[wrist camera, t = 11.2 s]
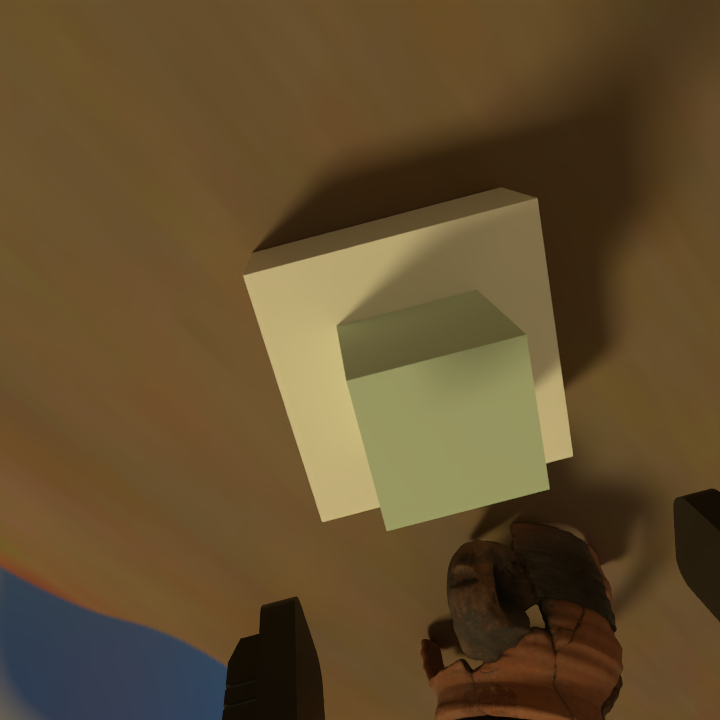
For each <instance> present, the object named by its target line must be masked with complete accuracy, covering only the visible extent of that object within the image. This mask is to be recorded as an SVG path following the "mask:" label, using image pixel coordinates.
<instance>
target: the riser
mask: <svg viewBox="0 0 720 720" xmlns="http://www.w3.org/2000/svg"><path fill="white" fill-rule="evenodd" d="M243 277H244V280H245V283H246V286H247V289H248V292H249V295H250V298H251V301H252V305H253V308H254V311H255V314H256V317H257V320H258V323H259V326H260V330H261V333H262V336H263V339H264V342H265V345H266V348H267V351H268V355H269V358H270V361H271V364H272V367H273V370H274V373H275V376H276V379H277V383H278V386H279V389H280V392H281V395H282V398H283V401H284V404H285V408H286V411H287V414H288V417H289V420H290V423H291V426H292V429H293V432H294V436H295V439H296V442H297V445H298V448H299V451H300V454H301V457H302V461H303V464H304V467H305V470H306V473H307V476H308V479H309V482H310V486H311V489H312V492H313V495H314V498H315V501H316V504H317V507H318V510H319V514H320V517H321V520H322V522H325V521H329V520H333V519H336V518H340V517H344V516H348V515H352V514H355V513H359V512H363V511H367V510H371V509H374V508H378V507H380V504H379V501H378V497H377V493H376V489H375V486H374V482H373V478H372V475H371V471H370V467H369V463H368V460H367V456H366V452H365V449H364V445H363V441H362V437H361V434H360V430H359V426H358V423H357V419H356V415H355V412H354V408H353V404H352V400H351V397H350V393H349V389H348V386H347V382H346V377H345V371H344V366H343V360H342V355H341V349H340V344H339V339H338V333H337V328H336V326H338V325H342V324H346V323H350V322H354V321H358V320H361V319H365V318H369V317H373V316H377V315H381V314H385V313H389V312H392V311H396V310H400V309H404V308H408V307H412V306H416V305H420V304H424V303H427V302H431V301H435V300H439V299H443V298H447V297H451V296H455V295H459V294H462V293H466V292H470V291H474V290H478V291H479V292H481V293H482V294H483V295H484V296H485V297H486V298H487V299H488V300H489V301H490V302H491V303H493V304H494V305H495V306H496V307H497V308H498V309H499V310H500V311H501V312H502V313H503V314H505V315H506V316H507V317H508V318H509V319H510V320H511V321H512V322H513V323H514V324H516V325H517V326H518V327H519V328H520V329H521V330H522V331H523V332H524V333H525V334H526V335H527V341H528V348H529V354H530V361H531V368H532V374H533V381H534V388H535V394H536V401H537V408H538V414H539V421H540V428H541V434H542V441H543V448H544V454H545V461H546V463H549V462H553V461H557V460H561V459H565V458H568V457H572V456H573V451H572V444H571V437H570V430H569V422H568V415H567V408H566V401H565V394H564V386H563V379H562V372H561V365H560V357H559V350H558V343H557V336H556V328H555V321H554V314H553V307H552V300H551V292H550V285H549V278H548V271H547V263H546V256H545V249H544V242H543V235H542V227H541V220H540V213H539V206H538V198H536V197H532V196H529V195H526V194H522V193H519V192H516V191H512V190H509V189H505V188H502V187H500V188H496V189H492V190H488V191H485V192H481V193H477V194H473V195H469V196H466V197H462V198H458V199H454V200H451V201H447V202H443V203H439V204H435V205H432V206H428V207H424V208H420V209H416V210H413V211H409V212H405V213H401V214H397V215H394V216H390V217H386V218H382V219H379V220H375V221H371V222H367V223H363V224H360V225H356V226H352V227H348V228H344V229H341V230H337V231H333V232H329V233H325V234H322V235H318V236H314V237H310V238H306V239H303V240H299V241H295V242H291V243H288V244H284V245H280V246H276V247H272V248H269V249H265V250H261V251H257V252H253V253H252V254H251V256H250V259H249V262H248V264H247V267H246V270H245V272H244V275H243Z"/></svg>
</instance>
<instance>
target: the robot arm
mask: <svg viewBox="0 0 720 720" xmlns="http://www.w3.org/2000/svg"><path fill="white" fill-rule="evenodd" d="M673 508H674V528H675V547H676V559H677V564H678V567H679V570H680V572H681V574H682V576H683V578H684V580H685V582H686V583H687V585H688V586H689V588H690V589H691V590H692V591H693V592H694V593H695V594H696V596H697V597H698V598H699V599H700V600H701V601H702V602H703V604H704V605H705V606H706V607H707V608H708V609H709V610H710V612H711V613H712V614H713V615H714V616H715V617H716V618H717V619H718V621H719V622H720V492H719V491H718V490H716V489H708V490H704V491H700V492H696V493H693V494H689V495H685V496H681V497H678V498H676V499H675V501H674V507H673ZM224 698H225V699H224V710H223V717H222V720H325V713H324V698H323V684H322V676H321V669H320V664H319V660H318V656H317V652H316V649H315V646H314V643H313V640H312V637H311V634H310V631H309V628H308V625H307V622H306V619H305V616H304V613H303V610H302V607H301V604H300V601H299V599H298V597H292V598H288V599H285V600H281V601H277V602H273V603H269V604H266V605H262V606H261V611H260V629H259V634H257V635H253V636H249V637H245V638H241V639H240V641H239V643H238V645H237V647H236V648H235V650H234V652H233V654H232V656H231V658H230V660H229V662H228V669H227V680H226V691H225V697H224Z"/></svg>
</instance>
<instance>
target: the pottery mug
mask: <svg viewBox="0 0 720 720" xmlns="http://www.w3.org/2000/svg"><path fill="white" fill-rule="evenodd" d="M510 530H511V535H512V538H513V540H512V549H513V551H512V550H511V549H509V548H508V547H507V546H505V545H503V544H500V543H498V542H492V541H482V540H474V541H472V542H468V543H465V544H463V545H462V546H461V547H460V548H459V549H458V551H457V552H456V553H455V554H454V555H453V557H452V559H451V561H450V564H449V568H448V573H447V598H448V605H449V609H450V612H451V616H452V618H453V620H454V621H453V628H454V631H455V633H456V635H457V638H458V640H459V643H460V646H461V649H462V651H463V652H464V653H465V654H466V655H467V656H468V657H470V658H472V659H475V660H483V661H484V662H483V664H482V665H481V666H479V667H477V668H476V669H475V670H472V669H471V667H470V666H469V664H468V663H467V662H466V660H464V659H460V660H457V661H456V662H454V663H453V664H451V665H450V666H447V667H445V668H444V665H443V660H442V655H441V650H440V647H439V645H438V644H437V643H436V642H433V641H430V640H427V639H423V640H422V642H421V644H422V649H421V657H422V659H423V669H424V671H425V673H426V676H427V679H428V681H429V685H430V687H431V688H432V689H433V691H434V692H435V693H436V695H437V697H438V706H437V709H436V712H435V719H436V720H605V715H606V714H607V713H609V712H610V710H611V709H612V707H613V705H614V703H615V701H616V700H617V698H618V695H619V692H620V689H621V687H622V684H623V683H622V677H621V675H620V674H621V672H622V670H623V665H622V647H621V645H620V644H619V642H618V640H617V639H616V638H615V635H614V632H616V630H617V628H616V625H615V616H614V613H613V612H612V610H611V602H612V593H611V587H610V584H609V582H608V580H607V579H606V577H605V576H604V573H603V571H602V569H601V567H600V564H599V559H598V557H597V554H596V553H595V551H594V550H593V549H592V548H591V547H590V546H589V545H588V544H586V542H585V541H583V540H582V539H580V538H578V537H576V536H574V535H573V534H572V533H570V532H567V531H563V530H560V529H558V528H556V527H552V526H548V525H543V524H532V523H513V524H511V526H510ZM535 604H536V605H538V606H539V610H540V612H541V614H542V618H543V620H544V622H545V628H540V627H531V628H530V621H529V617H528V616H527V614H526V612H525V611H526V610H527V609H529V608H530V607H532V606H533V605H535Z"/></svg>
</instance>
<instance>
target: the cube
mask: <svg viewBox="0 0 720 720" xmlns="http://www.w3.org/2000/svg"><path fill="white" fill-rule="evenodd" d="M336 328H337V333H338V339H339V344H340V349H341V355H342V360H343V366H344V371H345V377H346V382H347V386H348V389H349V393H350V397H351V400H352V404H353V408H354V412H355V415H356V419H357V423H358V426H359V430H360V434H361V437H362V441H363V445H364V449H365V452H366V456H367V460H368V463H369V467H370V471H371V475H372V478H373V482H374V486H375V489H376V493H377V497H378V501H379V504H380V508H381V512H382V515H383V519H384V523H385V527H386V530H387V531H390V530H393V529H397V528H401V527H405V526H409V525H413V524H417V523H421V522H425V521H428V520H432V519H436V518H440V517H444V516H448V515H452V514H456V513H459V512H463V511H467V510H471V509H475V508H479V507H483V506H487V505H491V504H494V503H498V502H502V501H506V500H510V499H514V498H518V497H522V496H525V495H529V494H533V493H537V492H541V491H545V490H549V489H550V487H549V481H548V474H547V467H546V461H545V454H544V448H543V441H542V434H541V428H540V421H539V414H538V408H537V401H536V394H535V388H534V381H533V374H532V368H531V361H530V354H529V348H528V341H527V335H526V334H525V333H524V332H523V331H522V330H521V329H520V328H519V327H518V326H517V325H516V324H514V323H513V322H512V321H511V320H510V319H509V318H508V317H507V316H506V315H505V314H503V313H502V312H501V311H500V310H499V309H498V308H497V307H496V306H495V305H494V304H493V303H491V302H490V301H489V300H488V299H487V298H486V297H485V296H484V295H483V294H482V293H481V292H479V291H478V290H474V291H470V292H466V293H462V294H459V295H455V296H451V297H447V298H443V299H439V300H435V301H431V302H427V303H424V304H420V305H416V306H412V307H408V308H404V309H400V310H396V311H392V312H389V313H385V314H381V315H377V316H373V317H369V318H365V319H361V320H358V321H354V322H350V323H346V324H342V325H338V326H336Z"/></svg>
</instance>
